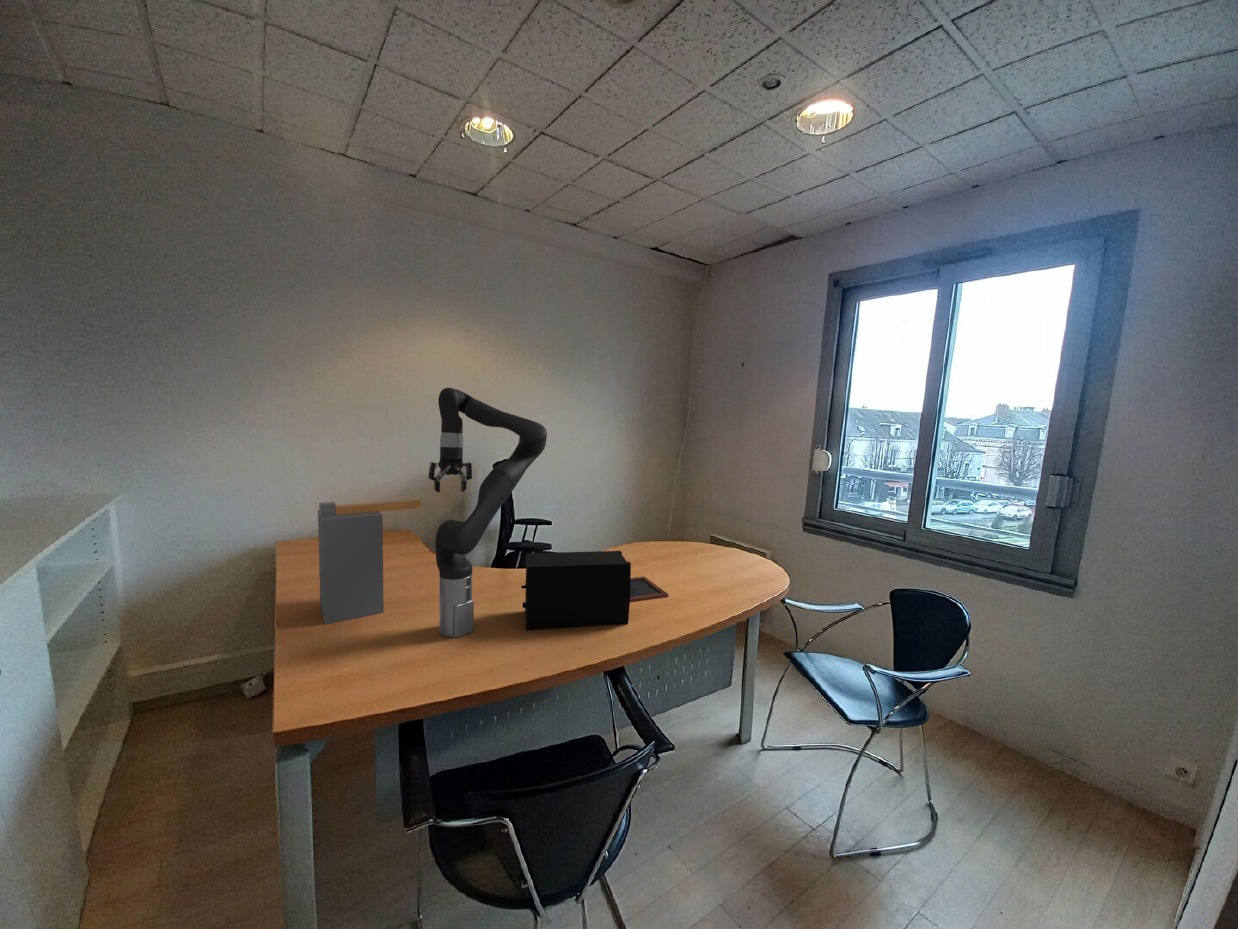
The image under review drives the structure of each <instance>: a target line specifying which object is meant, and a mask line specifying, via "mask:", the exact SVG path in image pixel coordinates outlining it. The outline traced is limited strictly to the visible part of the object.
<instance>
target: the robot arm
mask: <svg viewBox="0 0 1238 929" xmlns="http://www.w3.org/2000/svg"><path fill="white" fill-rule="evenodd" d="M437 400H438V402H437V403H438V409H439V410H438V411H439V415H440V417H441V418H440V419H441V426H440V428H441V429H440V430H441V431H440V443H439V461H438V462H432V461H431V462H429V469H428V479H429V480H431V481H433V482H434V484H433V489H434V491H435V492H436V493H437V494H438V493H441V480H442V478H443V477H444V476H445V475H446V476H450V475H453V476H458V477H459V478H460V479H461V481H460V492H465V491H466V490H467V483H468V482H467V481H469V480H472V479H473V468H472V467H473V466H472V465H473V464H472V463H471V462H464V461H463V460H464V458H463V455H464V437H463V430H464V429H463V428H464V426H463V424H464V421H463V418H462V417H461V416H460V414H459V413H462V414H464V415H465V417H467V418H469V419H470V420H472V421H475V422H476V423H479V424H480V425H482V426H486V427H490V428H502V429H505V430H508V431H511V432H513V433H514V434H516V435H518V436H519V440H518V443H517V446H515V449H514V450H513V452H512V454H511V455H510V456H509V457H508V458H507V459H506V460H505V461H502V462H501V463H498V465H496V466H495V467H493V469H492V470H490V472H489V473H488V474H487V476H485V478H484V480H483V481H482V482H481V484H480V486H479V489H478V495H477V496H478V497H477V504H476V506H475V508H474V509H473V511H472V512H471V513H470V515H469V516H468V518H467V519H465V521H460V520H455V519H449V520H445V521H443V522H442V523H441V524H440V525H438V528H437V531H436V534H435V540H434V542H435V559H436V560H435V561H436V562H435V563H436V566H437V568H438V572H439V586H438V588H439V592H438V594H439V595H438V596H439V603H438V604H439V605H438V606H439V611H438V612H439V613H438V614H439V618H438V619H439V620H438V621H439V622H438V623H439V624H438V625H439V626H438V627H439V634H440V635H441V636H444V637H448V638H451V637H452V638H454V639H456V638H459V637H462V636H464V635H467V634H469V633H472V632H474V628H475V627H474V626H475V625H474V616H475V614H474V613H475V612H474V608H475V607H474V606H475V605H474V604H475V603H474V600H473V564H472V563H471V561H470V560H468V559H467V558H466V555H468V554H469V553H471V552H472V551H473V550H474V549H475V548H476V547H477V546H478V544H479V542H480V541H481V539H482V537H483V536H484V534H485V532H486V530H487V528H488V527H489V525H490V523H491V522H492V520H493V519H494V517H495V516H496V514H497V513H498V511H499V510H500V508H501V507H502V506H503V504H504V502H505V501H506V500H507V499H508V498H509V496H510V495H511V494H512V492H514V489H515V488H516V487H517V485H518V483H519V482H520V480H521V479H522V477H523V476H524V474H525V472H526V471H527V470H528V468H530V466H531V465H532V464H533V463H534V462H535V460H536V459H538V457H540V456H541V455H542V453H543V452H544V450H545V448H546V445H547V444H546V443H547V439H548V431H547V428H546V427H545V426H544V425H543V424H541V423H539V422H537V421H534V420H531V419H527V418H525V417H521V416H519V415H515V414H512V413H509V412H506V411H503V410H500V409H499V408H498V409H497V408H495V407H493V406H491V405H489V404H487V403H485V402H483V401H480V400H479V399H477V398H476V399H475V398H474V397H473V396H471V395H470V394H468V393H466V392H464V391H462V390H460V389H458V388H457V389H456V388H454V387H445V388H443V389H442V390H441V391H440V393H439V395H438V399H437ZM463 468H464V469H465V470H466V475H465V474H464V472H463V471H462V469H463ZM436 469H440V470H439V471H438V473H437V474H436V473H435V471H436ZM435 474H436V476H435Z"/></svg>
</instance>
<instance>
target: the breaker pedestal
mask: <svg viewBox="0 0 1238 929" xmlns="http://www.w3.org/2000/svg"><path fill="white" fill-rule="evenodd" d="M383 521H384V520H383V514H382V513H381V511H378V512H365V513H353V514H340V515H332V516H320V514H319V509H318V510H317V524H318V525H317V526H318V527H317V528H318V531H317V532H318V562H319V563H318V564H319V565H318V566H319V567H318V569H319V570H318V571H319V605H320V611H321V615H322V619H323V623H324V625H328V624H333V623H338V622H344V621H348V620H353V619H358V618H362V617H368V616H373V615H378V614H383V613H384V612H385V611H384V606H385V605H384V530H383V528H384V527H383V526H384V525H383V524H384V522H383Z"/></svg>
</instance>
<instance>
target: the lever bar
mask: <svg viewBox="0 0 1238 929" xmlns="http://www.w3.org/2000/svg"><path fill="white" fill-rule="evenodd" d="M318 508H319V509H318V510H319V514H320V516H332V515H340V514H353V513H365V512H378V511H379V512H387V511H389V512H390V511H400V510H401V511H402V510H413V509H421V508H422V500H420V499H418V498H417V499H407V500H393V501H379V502H378V501H377V502H365V503H364V502H363V503H361V502H360V503H349V504H348V503H347V504H336V503H335V501H329V502H328V501H327V502H318Z"/></svg>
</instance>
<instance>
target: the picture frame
mask: <svg viewBox="0 0 1238 929" xmlns="http://www.w3.org/2000/svg"><path fill="white" fill-rule="evenodd" d="M664 598H665V599H666V598H669V593H668V592H666V591H665V590H663V589H662V588H661V587H659V586H658V585H657V584H656V583H654V582H653V581H651V580H650V579H649V578H647V577H646V576H637V577H636V576H635V577H631V585H630V603H635V602H642V601H648V600H650V601H651V600H656V599H657V600H659V599H664Z"/></svg>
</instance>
